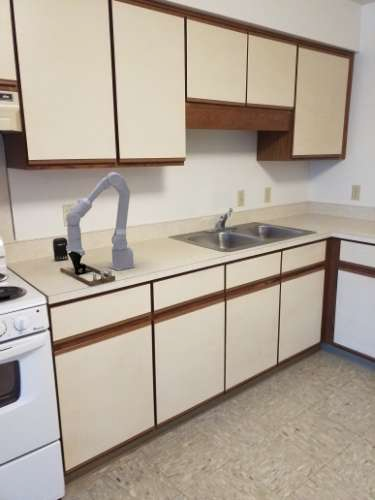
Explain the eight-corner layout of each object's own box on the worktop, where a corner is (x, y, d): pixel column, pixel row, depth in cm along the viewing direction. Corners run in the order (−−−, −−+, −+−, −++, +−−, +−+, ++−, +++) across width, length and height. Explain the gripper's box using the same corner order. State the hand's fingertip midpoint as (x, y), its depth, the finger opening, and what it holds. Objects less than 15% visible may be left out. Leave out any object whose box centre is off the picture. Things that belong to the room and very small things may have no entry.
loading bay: (83, 266, 187) (83, 256, 186) (115, 280, 167) (115, 269, 165) (60, 271, 180) (59, 260, 179) (90, 286, 159) (90, 274, 158)
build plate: (72, 278, 171) (72, 268, 170) (63, 275, 176) (62, 265, 175) (96, 272, 180) (96, 262, 179) (87, 269, 185) (86, 259, 184)
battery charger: (55, 262, 195) (53, 239, 192) (53, 260, 198) (51, 238, 196) (69, 260, 199) (68, 237, 196) (67, 258, 202) (65, 236, 199)
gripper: (59, 237, 179) (61, 265, 183) (73, 242, 169) (75, 272, 172) (73, 235, 184) (75, 263, 187) (88, 240, 173) (90, 269, 177)
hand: (76, 267), depth 180 cm, fingers closed
